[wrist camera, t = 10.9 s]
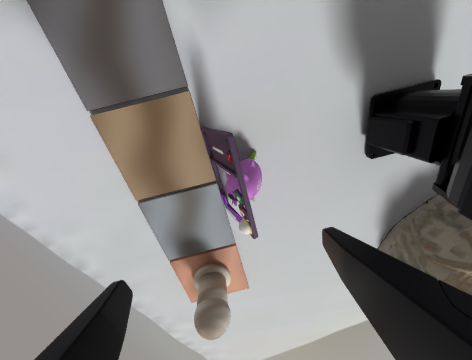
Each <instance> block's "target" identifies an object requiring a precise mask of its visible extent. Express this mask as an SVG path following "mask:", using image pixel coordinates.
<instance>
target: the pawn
mask: <svg viewBox="0 0 472 360" xmlns="http://www.w3.org/2000/svg"><path fill="white" fill-rule="evenodd" d="M230 281H231V278H230V271H229V270H228V268H227V267H225V266H224V265H221V264H216V263H212V264H207V265H204V266H202V267H200V268H199V269H198V270H197V271H196V273H195V276H194V285H195V287H196V289H198V298H197V308H196V311H195V315H194V323H195V327H196V330H197V332H198V333H199V334H200V336H202V337H203V338H205V339H208V340H214V339H217V338H219V337H221V336H222V335H223V334H224V333H225V332H226V330H227V328H228V326H229V323H230V317H231V315H230V309H229V306H228V298H227V287H228V286H229V284H230Z"/></svg>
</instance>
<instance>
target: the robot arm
mask: <svg viewBox="0 0 472 360" xmlns="http://www.w3.org/2000/svg"><path fill="white" fill-rule="evenodd" d="M433 85H434V86H433ZM461 85H462V89H456V90H440V86H441V80H430V81H426V82H422V83H418V84H414V85H410V86H406V87H402V88H398V89H394V90H390V91H386V92H382V93H379V94H375V95H374V96H373V97H372V99H371V106H370V117H369V129H368V140H367V151H366V156H367V157H368V158H371V159H374V158H378V157H382V156H386V155H390V154H394V153H398V154H401V155H406V156H409V157H412V158H415V159H419V160H422V161H425V162H428V163H433V164H436V165H440V168H439V171H438V175H437V178H436V182H435V183H434V184H433V187H432V189H433V190H434V191H435V192H436V193H438V194H439V195H440V196H442V197H443V198H444V199H446V200H447V201H448V202H449V203H451V204H452V205H453V206H455V207H456V208H457V209H458V210H457V211H458V213H460V214H461V215H462V216H464V217H466V218H468V219H470V220H471V221H472V74H468V75H465V76H463V78H462V82H461ZM377 98H379V99H378V101H377ZM372 153H373V154H372ZM371 154H372V155H371ZM322 242H323V246H324V248H325V250H326V252H327V254H328V256H329V258H330V259H331V261H332V263H333V265H334V267H335V269H336V271H337V272H338V274H339V276H340V278H341V280H342V281H343V283H344V284H345V286H346V287H347V289H348V290H349V292H350V293H351V295H352V296H353V298H354V299H355V301H356V302H357V304H358V305H359V307H360V308H361V310H362V311H363V313H364V314H365V315H366V317H367V318H368V320H369V321H370V323H371V324H372V326H373V327H374V328H375V330H376V332H377V333H378V335H379V336H380V337H381V339H382V340H383V342H384V344H385V345H386V346H387V348H388V349H389V351H390V352H391V354H392V355H393V357H394V358H395V360H472V295H470V294H468V293H466V292H464V291H462V290H460V289H458V288H455V287H453V286H451V285H449V284H447V283H445V282H443V281H441V280H437V279H436V278H435V277H433V276H431V275H429V274H427V273H425V272H423V271H421V270H419V269H417V268H415V267H413V266H411V265H409V264H407V263H405V262H403V261H401V260H399V259H397V258H394V257H392V256H390V255H388V254H386V253H384V252H382V251H380V250H378V249H376V248H374V247H372V246H370V245H368V244H366V243H364V242H362V241H360V240H358V239H356V238H354V237H352V236H350V235H348V234H346V233H344V232H342V231H340V230H338V229H336V228H334V227H329V228H325V229H323V230H322ZM132 297H133V293H132V290H131V289H130V288H129V286H128V285H127V284H126V282H125V281H124V280H120V281H116V282H113V283H111V284H110V285H109V286H108V287H107V288H106V289H105V291H103V292H102V293H101V294H100V295H99V297H97V298H96V299H95V300H94V301H93V302H92V303H91V304H90V305H89V306H88V307H87V308H86V309H85V310H84V311H83V312H82V313H81V314H80V315H79V316H78V317H77V318H76V319H75V320H74V321H73V322H72V323H71V324H70V325H69V326H68V327H67V328H66V329H65V330H64V331H63V332H62V333H61V334H60V335H59V336H58V337H57V338H56V339H55V340H54V341H53V342H52V343H51V344H50V345H49V346H48V347H47V348H46V349H45V350H44V351H43V352H42V353H41V354H40V355H38V356H37V358H35V360H118V359H119V355H120V352H121V348H122V345H123V341H124V337H125V333H126V328H127V322H128V318H129V313H130V307H131V303H132Z"/></svg>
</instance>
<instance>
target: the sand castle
mask: <svg viewBox="0 0 472 360" xmlns="http://www.w3.org/2000/svg"><path fill="white" fill-rule="evenodd" d="M457 210H458V209H457V208H456V207H455V206H453V205H452V204H451V203H449V202H448V201H447V200H446V199H444V198H443V197H442V196H440V195H439V194H438V195H436V196H434V197H432V199H431V200H428V203H427V204H426V203H424V204H423V205H421V206H420V207H418V208H417V209H416V210H415V211H413V212H412V213H411V214H410V215H407V216H406V217H405V218H402V219H401V220H400V222H398V223H397V224H396V225H395V226H394V227H393V229H392V230H391V231H390V232H389V233H388V234H387V235H388V236H387V237H386V238H385V240H383V241H382V243H381V245H380V246H379V248H378V250H380V251H382V252H384V253H386V254H388V255H390V256H392V257H394V258H397V259H399V260H401V261H403V262H405V263H407V264H409V265H411V266H413V267H415V268H417V269H419V270H421V271H423V272H425V273H427V274H429V275H431V276H433V277H435V278H436V279H437V280H441V281H443V282H445V283H447V284H449V285H451V286H453V287H455V288H458V289H460V290H462V291H464V292H466V293H468V294H470V295H472V221H471V220H470V219H468V218H466V217H464V216H462V215H461V214H460V213H458V211H457Z"/></svg>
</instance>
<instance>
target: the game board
mask: <svg viewBox="0 0 472 360" xmlns="http://www.w3.org/2000/svg"><path fill="white" fill-rule="evenodd" d="M27 2H28V4H29V5H30V7H31V9H32V11H33V13H34V15H35V16H36V18H37V20H38V22H39V24H40V26H41V27H42V29H43V31H44V33H45V35H46V37H47V38H48V40H49V42H50V44H51V46H52V48H53V49H54V51H55V53H56V55H57V57H58V59H59V60H60V62H61V64H62V66H63V68H64V70H65V71H66V73H67V75H68V77H69V79H70V81H71V82H72V84H73V86H74V88H75V90H76V92H77V93H78V95H79V97H80V99H81V101H82V103H83V104H84V106H85V108H86V110H87V111H91V110H95V109H99V108H103V107H107V106H111V105H115V104H119V103H122V102H126V101H130V100H134V99H138V98H142V97H146V96H150V95H154V94H158V93H162V92H166V91H170V90H174V89H178V88H182V87H186V86H188V84H187V81H186V78H185V75H184V71H183V68H182V65H181V61H180V58H179V55H178V51H177V48H176V45H175V41H174V38H173V35H172V32H171V28H170V25H169V22H168V18H167V15H166V12H165V8H164V5H163V2H162V0H27ZM90 117H91V119H92V121H93V123H94V125H95V126H96V128H97V130H98V132H99V134H100V136H101V137H102V139H103V141H104V143H105V145H106V147H107V148H108V150H109V152H110V154H111V156H112V158H113V159H114V161H115V163H116V165H117V167H118V169H119V170H120V172H121V174H122V176H123V178H124V180H125V181H126V183H127V185H128V187H129V189H130V191H131V192H132V194H133V196H134V198H135V200H136V201H137V200H141V199H144V198H148V197H152V196H156V195H160V194H164V193H168V192H172V191H176V190H180V189H184V188H188V187H192V186H196V185H200V184H204V183H208V182H212V181H216V177H215V174H214V170H213V167H212V164H211V161H210V157H209V154H208V151H207V148H206V144H205V141H204V138H203V135H202V131H201V127H200V124H199V121H198V118H197V114H196V111H195V108H194V104H193V101H192V98H191V94H190V91H187V92H183V93H179V94H175V95H171V96H167V97H163V98H159V99H155V100H151V101H147V102H143V103H139V104H135V105H131V106H127V107H123V108H119V109H115V110H111V111H107V112H103V113H99V114H95V115H91V116H90ZM138 205H139V207H140V209H141V211H142V213H143V214H144V216H145V218H146V220H147V222H148V224H149V225H150V227H151V229H152V231H153V233H154V235H155V236H156V238H157V240H158V242H159V244H160V246H161V247H162V249H163V251H164V253H165V255H166V257H167V258H168V260H170V264H171V266H172V267H173V269H174V271H175V273H176V275H177V277H178V278H179V280H180V282H181V284H182V286H183V288H184V289H185V291H186V293H187V295H188V297H189V299H190V300H191V302H192V303H193V302H197V298H198V289H196V287H195V285H194V276H195V273H196V271H197V270H198V269H199V268H200V267H202V266H204V265H207V264H212V263H216V264H221V265H224V266H225V267H227V268H228V270H229V271H230V278H231V281H230V284H229V286H228V287H227V294H228V293H232V292H236V291H240V290H244V289H248V288H249V286H248V283H247V279H246V276H245V273H244V270H243V266H242V263H241V260H240V256H239V253H238V250H237V246H236V243H235V240H234V237H233V233H232V230H231V227H230V223H229V220H228V217H227V213H226V210H225V207H224V203H223V200H222V197H221V194H220V190H219V187H218V184H217V182H216V183H212V184H208V185H204V186H200V187H196V188H192V189H188V190H184V191H180V192H176V193H172V194H168V195H164V196H160V197H156V198H152V199H148V200H144V201H140V202H139V203H138ZM215 248H216V249H215ZM211 249H212V250H211ZM207 250H208V251H207ZM203 251H204V252H203ZM199 252H200V253H199ZM195 253H196V254H195ZM191 254H192V255H191ZM187 255H188V256H187ZM183 256H184V257H183Z"/></svg>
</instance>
